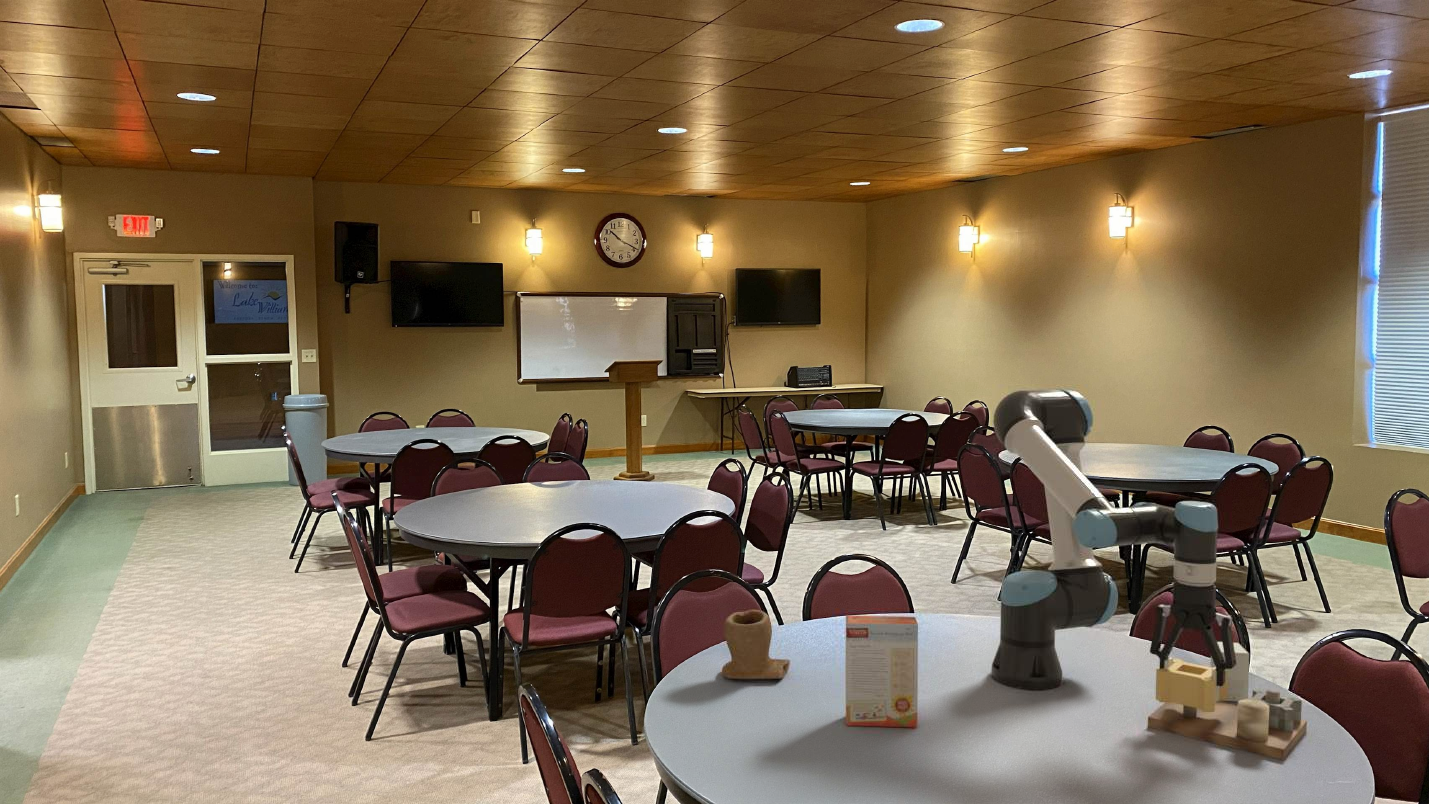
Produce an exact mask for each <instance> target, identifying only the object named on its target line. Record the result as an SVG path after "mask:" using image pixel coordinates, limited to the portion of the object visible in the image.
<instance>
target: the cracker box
mask: <svg viewBox="0 0 1429 804" xmlns="http://www.w3.org/2000/svg"><path fill="white" fill-rule="evenodd" d="M918 647H919V623H918V621H917V618H916V616H899V615H898V616H897V615H896V616H893V615H890V616H888V615H887V616H886V615H883V616H882V615H878V616H877V615H846V616H845V722H846V724H845V725H846V726H849V727H850V726H853V727H855V726H857V727H859V726H860V727H886V728H887V727H888V728H889V727H892V728H918V702H919V701H918V700H919V699H918V695H919V693H918V692H919V691H918V690H919V687H918V686H919V685H918V684H919V683H918V681H919V680H918V679H919V678H918V676H919V672H918V670H919V669H918V667H919V664H918V663H919V661H918V660H919V659H918V658H919V654H918V653H919V652H918V651H919V649H918Z"/></svg>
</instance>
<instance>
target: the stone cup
mask: <svg viewBox="0 0 1429 804" xmlns="http://www.w3.org/2000/svg"><path fill="white" fill-rule="evenodd" d="M723 626H724V638H725V642H726V644H727V647H728V651H729V653H730V656H731V660H729V661H728V662H726V663H725V664H724V665H723V667H722V668H721V673H722V675H723V676H724V677H726V678H727V679H730V680H731V679H733V680H773V679H777V680H778V679H784V678H785V677H786V675H787V674H788V672H789V670H790V669H789V668H790V665H791V659H785V658H784V659H782V658H781V659H776V658H771V657H770V647H771V643H772V642H771V641H772V635H773V625H772V621H771V618H770V616H769V615H768V614H767V613H766V612H765V611H762V610H759V609H748V610H746V611H737V612H736V611H735V612H733V613H732V614H730V615H729V616H728V617H727V618H726V619H725V621H724V625H723Z"/></svg>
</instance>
